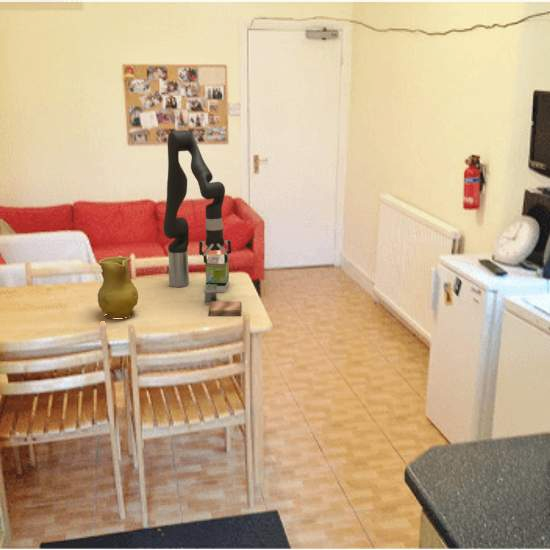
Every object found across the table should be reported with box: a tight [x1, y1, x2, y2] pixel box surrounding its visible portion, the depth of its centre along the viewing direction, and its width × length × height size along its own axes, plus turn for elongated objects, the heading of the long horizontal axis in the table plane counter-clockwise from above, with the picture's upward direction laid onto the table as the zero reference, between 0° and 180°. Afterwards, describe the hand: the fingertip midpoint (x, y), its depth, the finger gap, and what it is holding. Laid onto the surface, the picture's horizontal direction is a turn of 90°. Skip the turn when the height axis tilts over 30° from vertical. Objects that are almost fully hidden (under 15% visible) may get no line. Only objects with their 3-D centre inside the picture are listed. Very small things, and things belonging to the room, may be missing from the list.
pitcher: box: [97, 256, 139, 319], centre depth 292 cm, size 17×19×25 cm
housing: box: [204, 283, 218, 306], centre depth 309 cm, size 5×8×7 cm, turn 2°
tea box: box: [205, 254, 230, 293], centre depth 326 cm, size 15×10×15 cm, turn 179°
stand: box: [208, 300, 242, 317], centre depth 299 cm, size 14×12×2 cm
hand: (215, 263), depth 302 cm, fingers open, 8 cm apart
